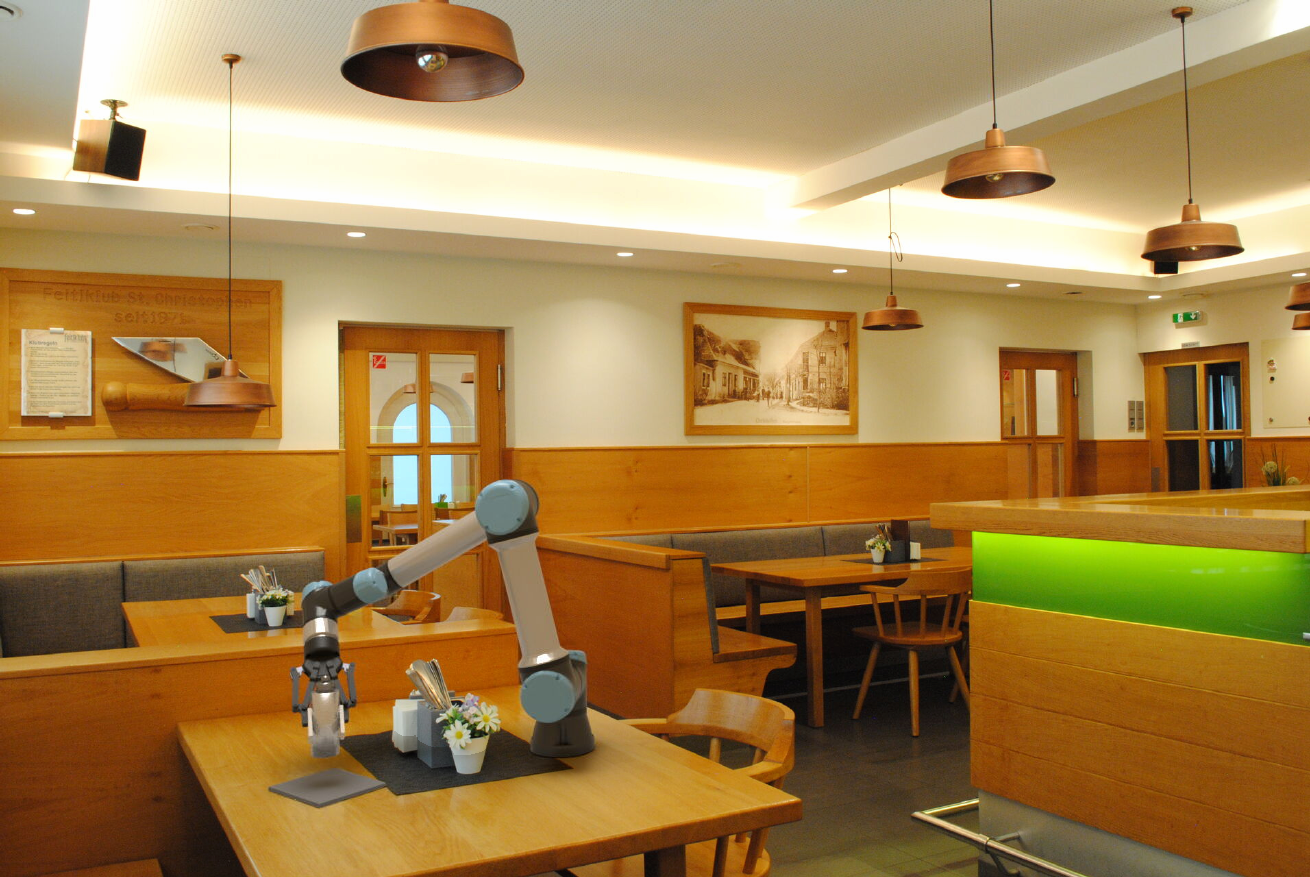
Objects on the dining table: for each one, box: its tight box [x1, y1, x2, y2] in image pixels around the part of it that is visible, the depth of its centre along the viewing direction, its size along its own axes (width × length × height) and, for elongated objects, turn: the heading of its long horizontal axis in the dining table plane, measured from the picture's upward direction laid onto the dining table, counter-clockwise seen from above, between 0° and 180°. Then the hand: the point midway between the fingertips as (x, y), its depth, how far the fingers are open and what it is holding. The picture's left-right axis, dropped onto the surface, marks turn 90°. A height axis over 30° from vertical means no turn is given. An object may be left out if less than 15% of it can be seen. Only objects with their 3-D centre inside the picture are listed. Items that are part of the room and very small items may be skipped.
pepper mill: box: [310, 675, 340, 759], centre depth 209 cm, size 6×6×16 cm
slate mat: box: [268, 767, 387, 809], centre depth 209 cm, size 18×16×1 cm
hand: (326, 737), depth 206 cm, fingers closed on pepper mill, 6 cm apart
